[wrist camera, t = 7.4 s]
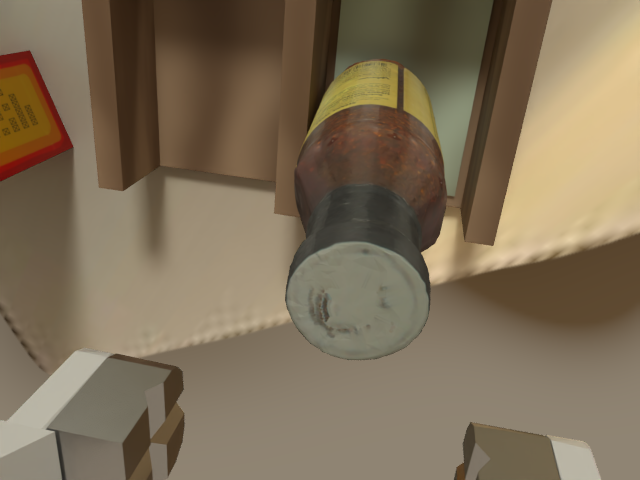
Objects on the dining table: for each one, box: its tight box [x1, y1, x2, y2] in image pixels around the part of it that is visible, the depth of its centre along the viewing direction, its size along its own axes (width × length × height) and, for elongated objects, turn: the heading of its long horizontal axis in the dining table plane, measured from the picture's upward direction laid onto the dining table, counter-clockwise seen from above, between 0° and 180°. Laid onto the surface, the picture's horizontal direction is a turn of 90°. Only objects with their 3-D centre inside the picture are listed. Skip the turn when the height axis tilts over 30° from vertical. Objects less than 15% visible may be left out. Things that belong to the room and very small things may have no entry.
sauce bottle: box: [285, 59, 447, 360], centre depth 24 cm, size 6×6×20 cm
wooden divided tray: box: [82, 0, 552, 246], centre depth 31 cm, size 22×15×6 cm, turn 85°
